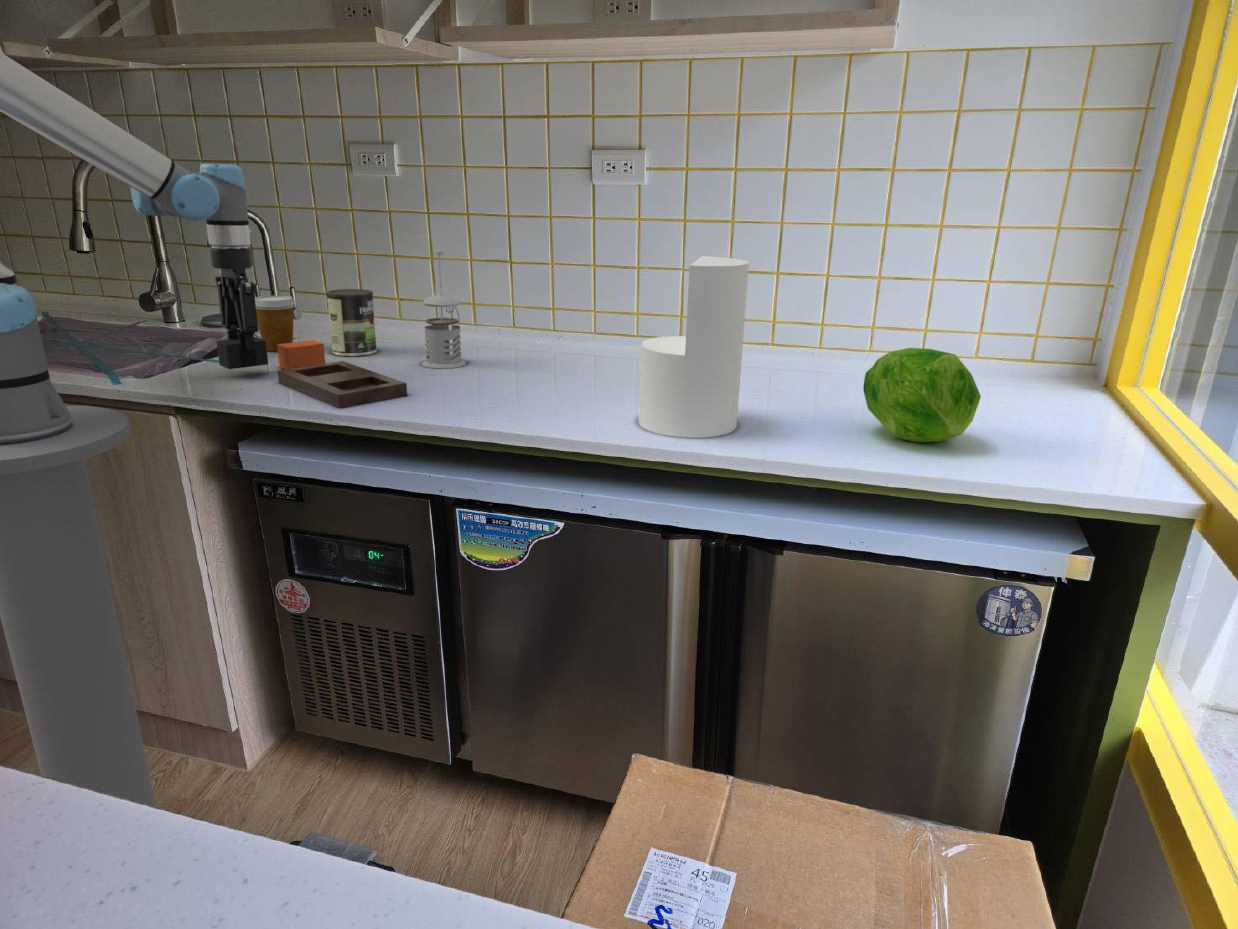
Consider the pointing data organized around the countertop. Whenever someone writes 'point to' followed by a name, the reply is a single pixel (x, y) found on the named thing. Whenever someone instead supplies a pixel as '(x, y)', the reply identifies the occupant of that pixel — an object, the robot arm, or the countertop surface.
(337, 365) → the brown wooden slotted tray
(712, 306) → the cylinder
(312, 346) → the orange block
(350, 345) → the coffee can
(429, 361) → the french press
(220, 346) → the black rectangular block
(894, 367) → the lettuce
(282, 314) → the disposable coffee cup
